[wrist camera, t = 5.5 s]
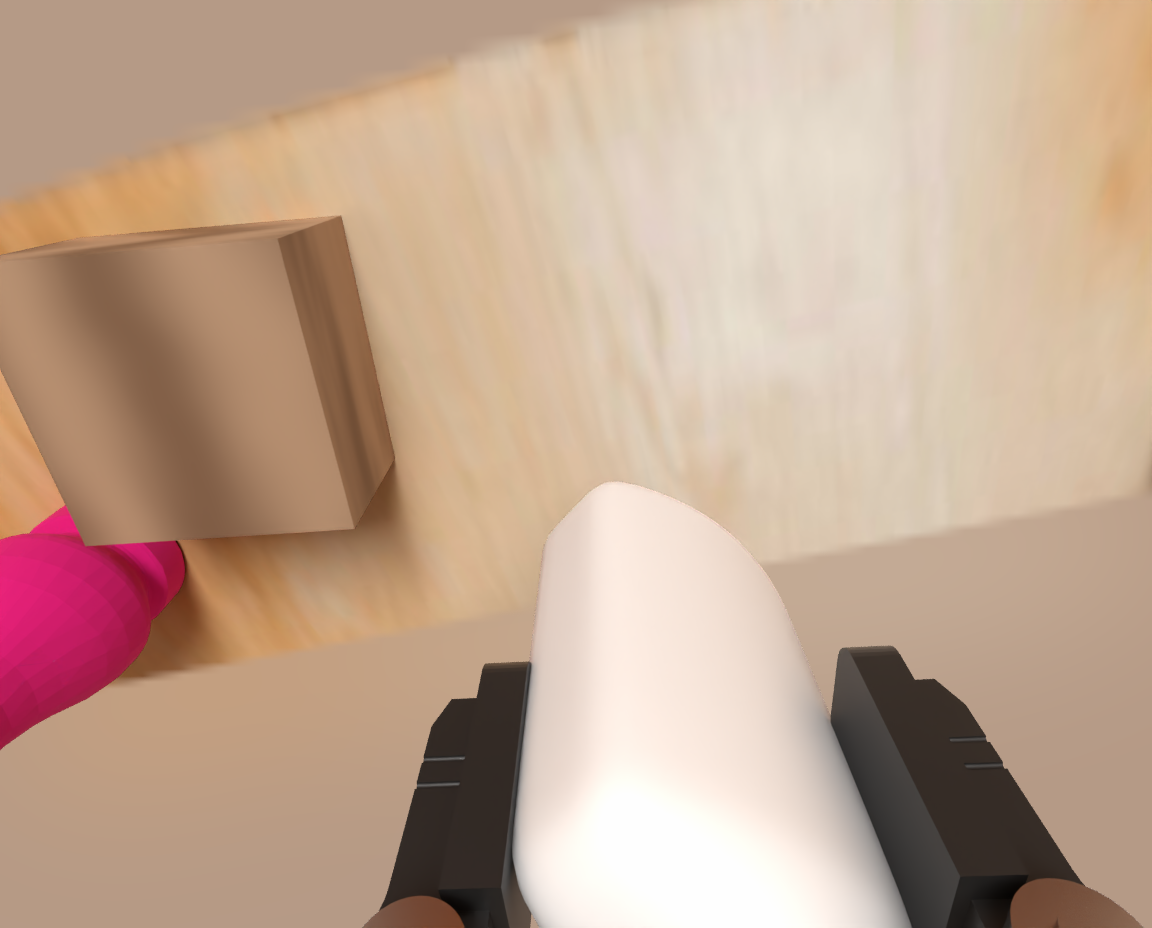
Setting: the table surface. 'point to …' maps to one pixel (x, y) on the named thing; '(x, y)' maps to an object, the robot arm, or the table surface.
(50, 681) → the pepper mill
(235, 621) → the table surface
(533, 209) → the table surface
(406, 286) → the table surface
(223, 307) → the walnut box
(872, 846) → the eye dropper bottle
